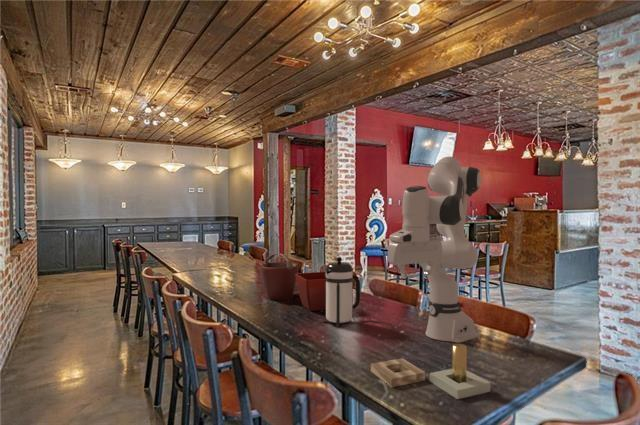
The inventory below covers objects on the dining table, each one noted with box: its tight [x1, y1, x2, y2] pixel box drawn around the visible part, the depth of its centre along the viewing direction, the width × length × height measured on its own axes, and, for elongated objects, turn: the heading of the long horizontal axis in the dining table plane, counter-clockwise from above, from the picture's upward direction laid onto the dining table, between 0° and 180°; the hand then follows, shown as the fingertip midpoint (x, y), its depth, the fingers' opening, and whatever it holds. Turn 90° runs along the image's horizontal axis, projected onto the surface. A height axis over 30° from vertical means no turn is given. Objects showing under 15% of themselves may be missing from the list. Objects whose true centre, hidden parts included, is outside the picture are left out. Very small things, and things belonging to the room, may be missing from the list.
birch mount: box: [370, 357, 426, 388], centre depth 123 cm, size 12×12×2 cm
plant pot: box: [295, 271, 326, 312], centre depth 206 cm, size 19×19×17 cm
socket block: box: [429, 368, 491, 400], centre depth 116 cm, size 12×12×2 cm
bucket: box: [259, 253, 299, 301], centre depth 230 cm, size 24×22×25 cm
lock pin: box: [451, 343, 468, 383], centre depth 116 cm, size 4×4×12 cm
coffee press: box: [322, 256, 361, 328], centre depth 180 cm, size 17×16×30 cm
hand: (416, 276), depth 131 cm, fingers open, 8 cm apart
